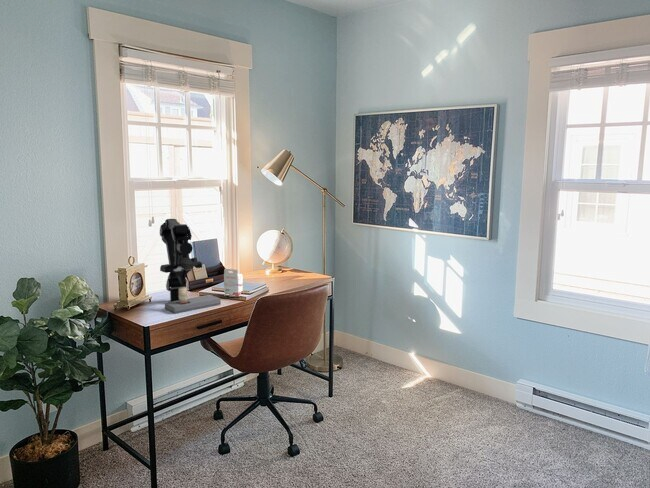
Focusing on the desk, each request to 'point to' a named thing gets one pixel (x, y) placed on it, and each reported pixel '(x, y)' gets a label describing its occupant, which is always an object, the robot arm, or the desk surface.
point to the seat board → (193, 304)
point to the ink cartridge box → (233, 282)
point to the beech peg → (183, 295)
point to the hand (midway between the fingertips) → (182, 284)
